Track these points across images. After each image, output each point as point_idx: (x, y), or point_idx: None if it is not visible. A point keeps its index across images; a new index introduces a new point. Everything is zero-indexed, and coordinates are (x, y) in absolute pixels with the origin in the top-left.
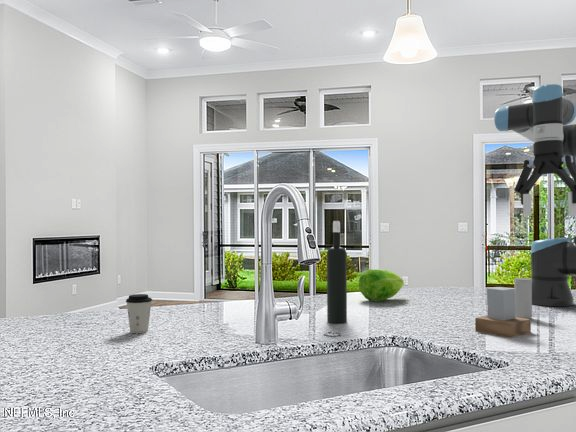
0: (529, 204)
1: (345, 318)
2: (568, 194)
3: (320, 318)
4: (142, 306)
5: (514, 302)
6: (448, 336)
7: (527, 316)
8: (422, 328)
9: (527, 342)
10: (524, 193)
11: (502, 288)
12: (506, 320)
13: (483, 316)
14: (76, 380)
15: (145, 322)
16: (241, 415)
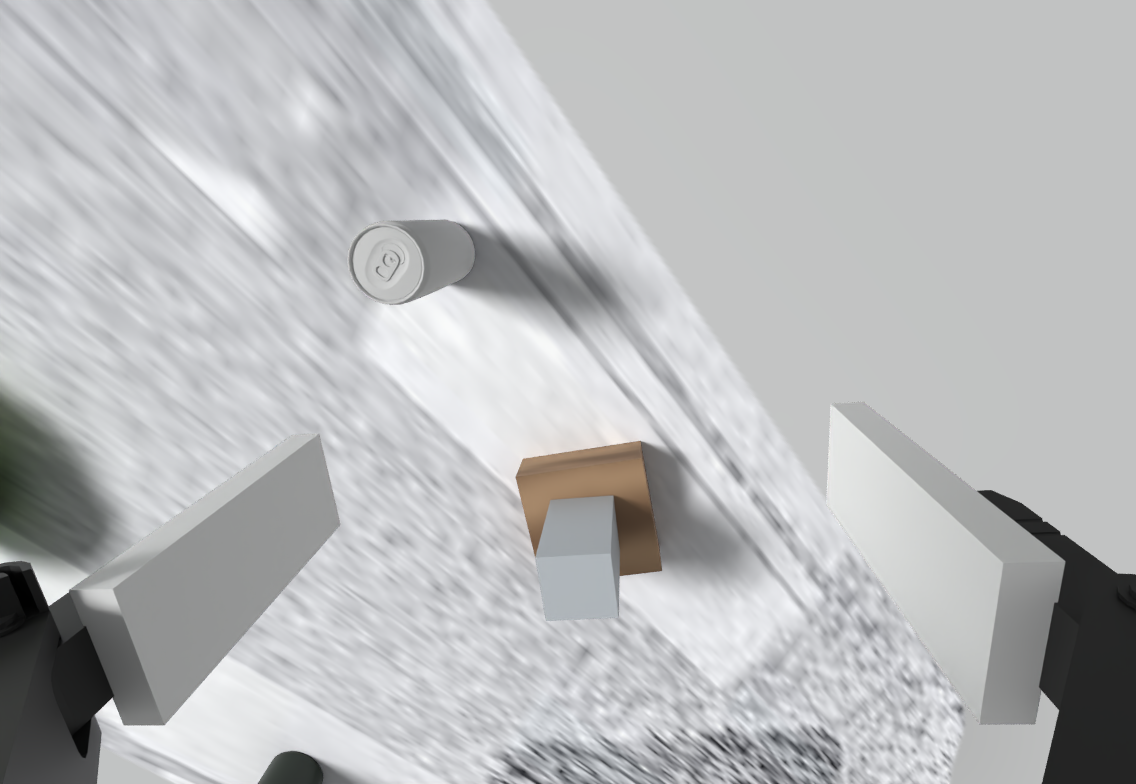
0: (247, 530)
1: (312, 775)
2: (961, 686)
3: (239, 779)
4: None
5: (612, 527)
6: (568, 663)
7: (472, 263)
8: (456, 653)
9: (723, 552)
10: (105, 703)
11: (582, 585)
12: (619, 540)
13: (535, 548)
14: None
15: None
16: None
